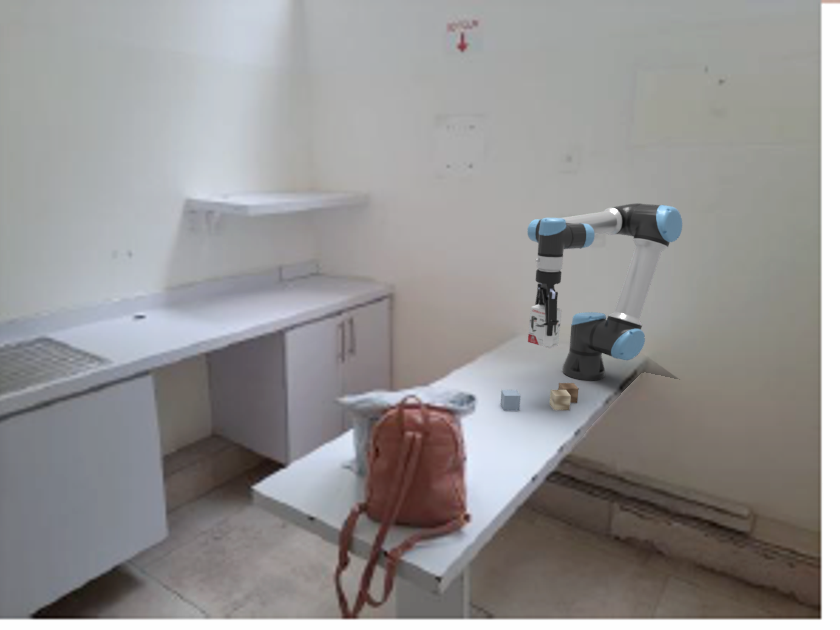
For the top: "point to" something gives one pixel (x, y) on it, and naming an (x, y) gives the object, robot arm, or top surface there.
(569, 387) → the cube walnut
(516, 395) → the cube slate
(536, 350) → the top surface
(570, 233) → the robot arm
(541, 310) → the ink box
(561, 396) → the cube maple
